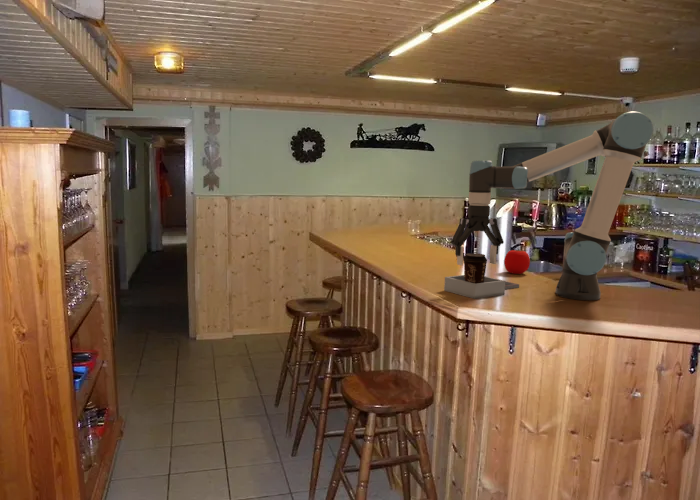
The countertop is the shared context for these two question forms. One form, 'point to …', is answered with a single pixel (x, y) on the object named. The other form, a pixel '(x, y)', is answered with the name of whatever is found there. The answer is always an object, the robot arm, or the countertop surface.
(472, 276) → the coffee cup
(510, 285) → the collar
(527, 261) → the tomato
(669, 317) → the countertop surface
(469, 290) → the bin
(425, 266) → the countertop surface
